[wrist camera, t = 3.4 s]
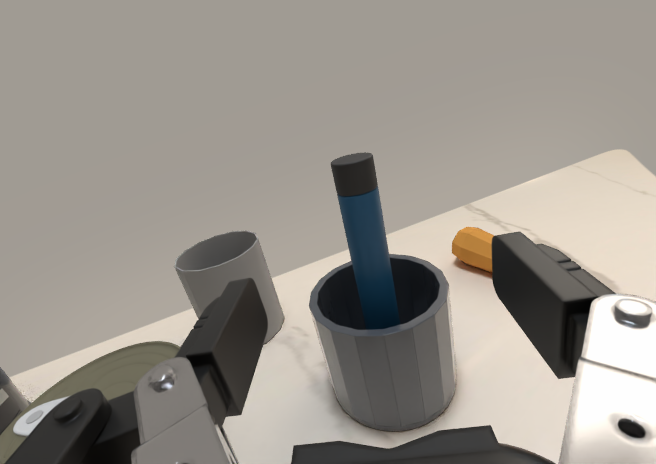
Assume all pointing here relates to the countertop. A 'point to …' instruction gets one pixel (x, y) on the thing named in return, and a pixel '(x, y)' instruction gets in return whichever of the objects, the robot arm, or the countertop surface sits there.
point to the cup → (228, 273)
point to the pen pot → (389, 346)
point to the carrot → (474, 247)
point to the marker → (366, 238)
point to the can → (89, 386)
